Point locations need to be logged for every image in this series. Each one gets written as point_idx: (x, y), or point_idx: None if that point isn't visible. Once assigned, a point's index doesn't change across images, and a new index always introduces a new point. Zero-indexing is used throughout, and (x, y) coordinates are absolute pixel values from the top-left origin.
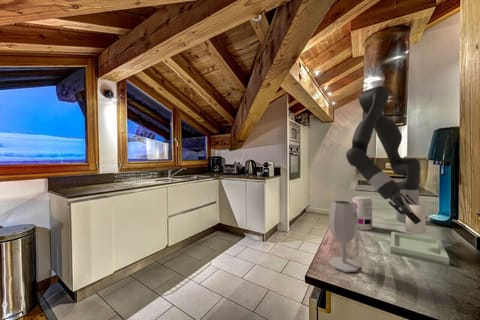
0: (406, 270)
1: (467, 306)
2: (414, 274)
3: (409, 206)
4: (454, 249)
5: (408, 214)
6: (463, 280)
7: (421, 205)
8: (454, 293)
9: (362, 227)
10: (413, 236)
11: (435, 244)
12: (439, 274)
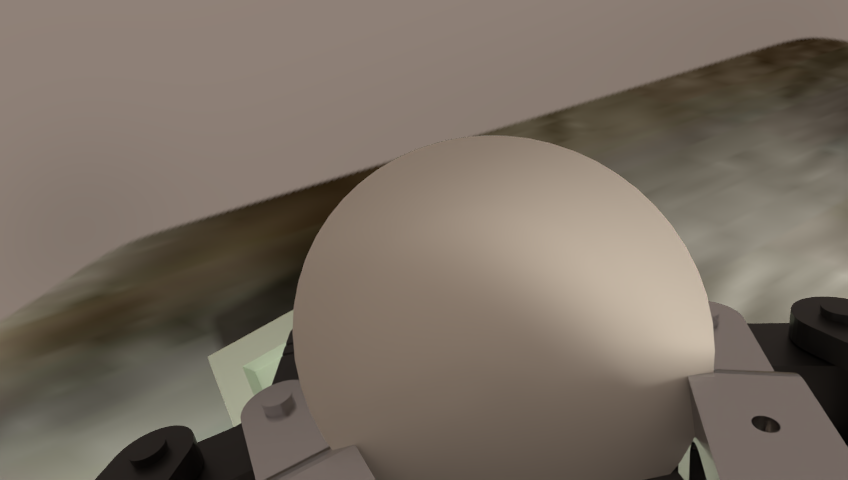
0: (809, 269)
1: (790, 56)
2: (799, 230)
3: (702, 336)
4: (218, 297)
5: None
6: (608, 126)
7: (416, 216)
8: (756, 99)
9: None
10: None
11: (271, 368)
12: (663, 185)
